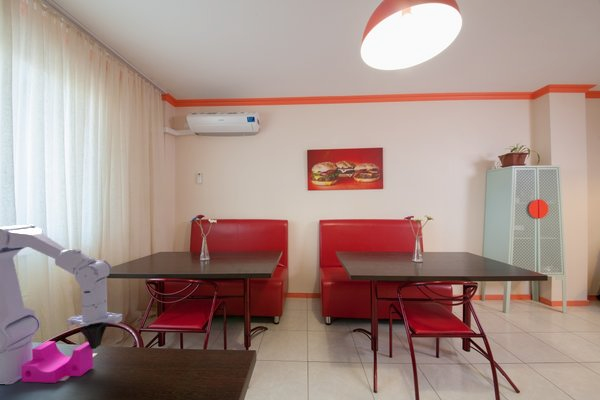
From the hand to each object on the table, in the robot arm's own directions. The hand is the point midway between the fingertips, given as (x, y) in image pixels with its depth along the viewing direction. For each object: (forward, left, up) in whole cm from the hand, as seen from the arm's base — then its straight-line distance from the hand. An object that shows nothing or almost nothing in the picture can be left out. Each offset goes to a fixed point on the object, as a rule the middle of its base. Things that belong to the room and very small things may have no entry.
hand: (95, 346), depth 69 cm
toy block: (-9, -2, -6) cm, 11 cm away
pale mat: (-9, +1, -6) cm, 11 cm away
